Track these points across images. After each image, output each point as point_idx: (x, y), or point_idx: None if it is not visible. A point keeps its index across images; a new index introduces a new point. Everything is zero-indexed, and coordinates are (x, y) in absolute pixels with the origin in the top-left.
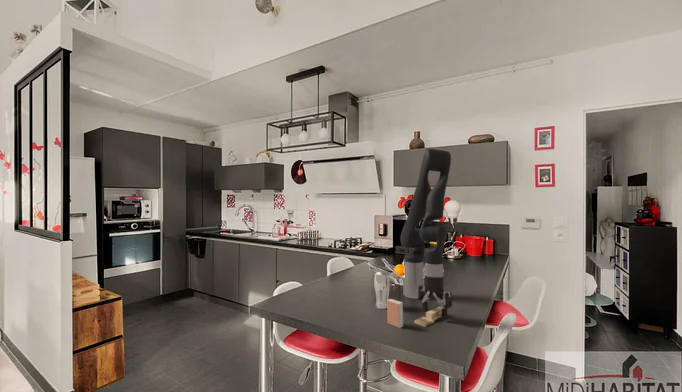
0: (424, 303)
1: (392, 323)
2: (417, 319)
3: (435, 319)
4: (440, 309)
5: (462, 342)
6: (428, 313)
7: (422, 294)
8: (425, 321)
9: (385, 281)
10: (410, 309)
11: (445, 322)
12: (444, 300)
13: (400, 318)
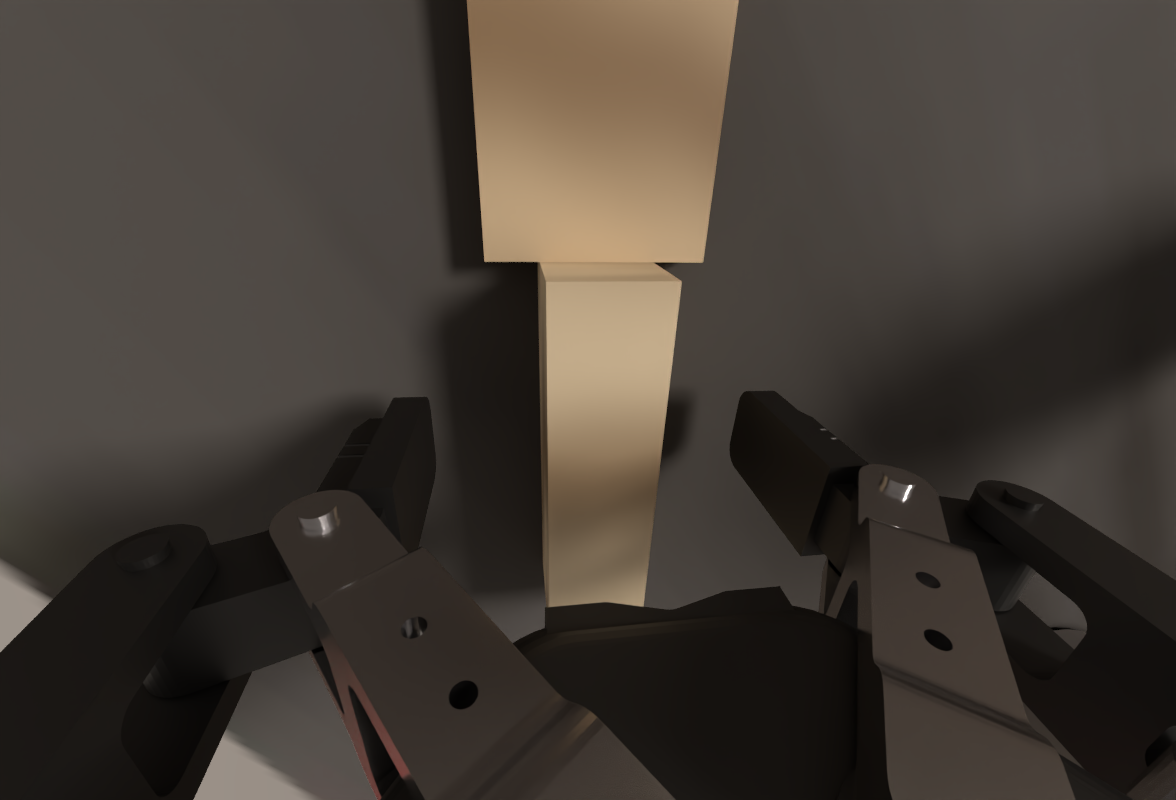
0: (836, 468)
1: None
2: (722, 37)
3: (539, 361)
4: (567, 565)
5: None
6: (617, 281)
7: (1043, 660)
8: (553, 64)
9: None
10: (962, 412)
11: (381, 383)
12: (360, 750)
13: None
